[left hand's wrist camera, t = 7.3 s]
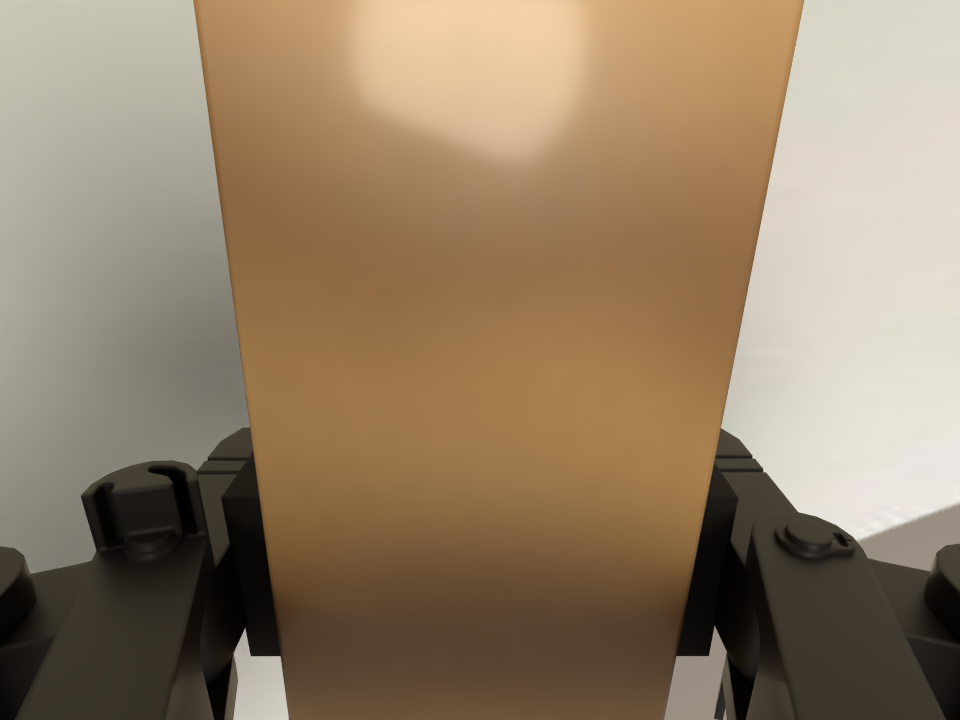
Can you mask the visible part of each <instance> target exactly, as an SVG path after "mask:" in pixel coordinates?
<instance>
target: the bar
mask: <svg viewBox="0 0 960 720" xmlns="http://www.w3.org/2000/svg"><path fill="white" fill-rule="evenodd" d="M803 4H804V0H194V8H195V15H196V23H197V30H198V38H199V45H200V53H201V60H202V68H203V76H204V83H205V91H206V98H207V106H208V113H209V121H210V128H211V136H212V143H213V151H214V158H215V166H216V173H217V181H218V188H219V196H220V203H221V211H222V218H223V226H224V233H225V241H226V248H227V256H228V264H229V271H230V279H231V286H232V294H233V301H234V309H235V316H236V324H237V331H238V339H239V346H240V354H241V361H242V369H243V376H244V384H245V391H246V399H247V406H248V414H249V421H250V429H251V436H252V444H253V451H254V459H255V467H256V474H257V482H258V489H259V497H260V504H261V512H262V519H263V527H264V534H265V542H266V549H267V557H268V564H269V572H270V579H271V587H272V594H273V602H274V609H275V617H276V624H277V632H278V639H279V647H280V655H281V662H282V670H283V677H284V685H285V692H286V700H287V707H288V715H289V720H664V716H665V711H666V706H667V701H668V696H669V691H670V686H671V681H672V675H673V670H674V665H675V660H676V655H677V650H678V645H679V640H680V634H681V629H682V624H683V619H684V614H685V609H686V604H687V599H688V593H689V588H690V583H691V578H692V573H693V568H694V563H695V558H696V552H697V547H698V542H699V537H700V532H701V527H702V522H703V517H704V511H705V506H706V501H707V496H708V491H709V486H710V481H711V476H712V470H713V465H714V460H715V455H716V450H717V445H718V440H719V435H720V429H721V424H722V419H723V414H724V409H725V404H726V399H727V394H728V388H729V383H730V378H731V373H732V368H733V363H734V358H735V352H736V347H737V342H738V337H739V332H740V327H741V322H742V317H743V311H744V306H745V301H746V296H747V291H748V286H749V281H750V276H751V270H752V265H753V260H754V255H755V250H756V245H757V240H758V235H759V229H760V224H761V219H762V214H763V209H764V204H765V199H766V194H767V188H768V183H769V178H770V173H771V168H772V163H773V158H774V153H775V147H776V142H777V137H778V132H779V127H780V122H781V117H782V112H783V106H784V101H785V96H786V91H787V86H788V81H789V76H790V71H791V65H792V60H793V55H794V50H795V45H796V40H797V35H798V30H799V24H800V19H801V14H802V9H803Z"/></svg>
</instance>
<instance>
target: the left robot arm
mask: <svg viewBox="0 0 960 720" xmlns="http://www.w3.org/2000/svg"><path fill="white" fill-rule="evenodd" d="M81 499H82V502H83V505H84V509H85V512H86V516H87V519H88V523H89V526H90V530H91V533H92V536H93V540H94V543H95V547H96V550H97V551H96V553H95V555H94V558H93V560H92V561H90V562H86V563H82V564H78V565H73V566H68V567H63V568H58V569H53V570H49V571H44V572H39V573H34V574H30V572H29V569H28V566H27V563H26V560H25V558H24V555H22V554H21V553H20V552H18V551H17V550H16V549H15V548H7V547H0V720H233V716H234V708H235V700H236V691H237V683H238V677H237V670H236V664H235V659H234V654H233V653H234V651H235V649H236V647H237V644H238V642H239V640H240V638H241V636H242V634H243V631H244V629H245V628H246V633H247V638H248V644H249V649H250V654H251V656H281V655H280V647H279V639H278V632H277V624H276V617H275V609H274V602H273V594H272V587H271V579H270V572H269V564H268V557H267V549H266V542H265V534H264V527H263V519H262V512H261V504H260V497H259V489H258V482H257V474H256V467H255V459H254V451H253V444H252V436H251V429H250V428H242V429H240V430H239V431H237V432H235V433H234V434H232V435H231V436H229V437H227V438H226V439H224V440H223V441H221V442H220V443H219V444H218V446H217V447H216V448H215V449H214V451H213V452H212V453H211V454H210V456H209V457H208V461H205V462H204V463H203V464H202V466H201V467H200V468H199V469H198V471H196V470H195V469H194V468H192V467H191V466H190V465H188V464H186V463H181V462H177V461H151V462H146V463H141V464H137V465H132V466H129V467H126V468H123V469H121V470H118V471H115V472H113V473H110V474H108V475H107V476H105V477H103V478H102V479H100V480H98V481H97V482H95V483H93V484H92V485H91V486H90V487H89V488H88V489H87V490H86V491H85V492H84V493H83V494H82V495H81ZM714 625H715V627H716V629H717V631H718V633H719V636H720V638H721V640H722V642H723V644H724V646H725V649H726V651H727V654H726V659H725V664H724V669H723V674H722V679H721V684H720V688H719V693H718V698H717V703H716V710H715V717H714V719H718V720H723V716H724V711H725V707H726V714H727V720H960V544H954V545H947V546H945V547H944V548H942V549H941V550H940V551H938V552H937V553H936V556H935V559H934V562H933V565H932V568H931V570H930V571H925V570H920V569H915V568H910V567H905V566H900V565H895V564H891V563H886V562H881V561H877V560H873V559H869V558H867V556H866V554H865V552H864V550H863V549H862V548H861V546H860V545H859V544H858V543H857V541H856V540H855V539H854V538H853V537H852V536H851V535H849V534H848V533H847V532H845V531H844V530H842V529H841V528H839V527H838V526H837V525H834V524H832V523H830V522H827V521H825V520H823V519H821V518H818V517H816V516H811V515H807V514H803V513H799V512H797V510H796V509H795V508H794V507H793V505H792V504H791V503H790V502H789V500H788V499H787V498H786V497H785V495H784V494H783V493H782V492H781V490H780V489H779V488H778V487H777V486H776V484H775V483H774V482H773V481H772V479H771V478H770V477H769V476H768V474H767V473H766V472H763V468H762V467H761V466H760V464H759V463H758V462H757V461H756V460H755V459H752V455H751V453H750V452H749V451H748V450H747V448H746V447H745V446H744V445H743V443H742V442H741V441H740V440H739V439H738V438H736V437H734V436H733V435H731V434H730V433H728V432H726V431H725V430H723V429H720V435H719V440H718V445H717V450H716V455H715V460H714V465H713V470H712V476H711V481H710V486H709V491H708V496H707V501H706V506H705V511H704V517H703V522H702V527H701V532H700V537H699V542H698V547H697V552H696V558H695V563H694V568H693V573H692V578H691V583H690V588H689V593H688V599H687V604H686V609H685V614H684V619H683V624H682V629H681V634H680V640H679V645H678V650H677V655H676V656H709V652H710V647H711V641H712V636H713V631H714Z"/></svg>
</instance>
